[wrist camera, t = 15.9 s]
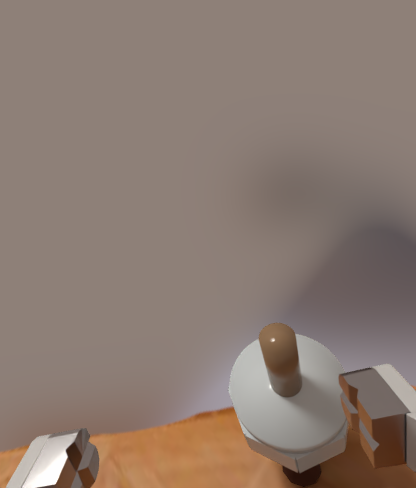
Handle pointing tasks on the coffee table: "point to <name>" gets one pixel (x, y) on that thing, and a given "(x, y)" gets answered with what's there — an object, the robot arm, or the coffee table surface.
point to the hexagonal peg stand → (289, 398)
